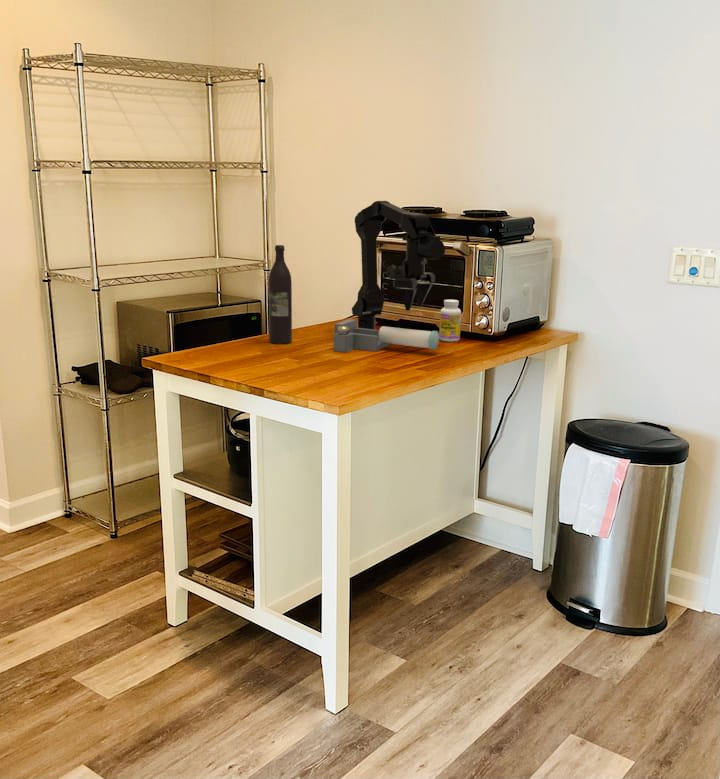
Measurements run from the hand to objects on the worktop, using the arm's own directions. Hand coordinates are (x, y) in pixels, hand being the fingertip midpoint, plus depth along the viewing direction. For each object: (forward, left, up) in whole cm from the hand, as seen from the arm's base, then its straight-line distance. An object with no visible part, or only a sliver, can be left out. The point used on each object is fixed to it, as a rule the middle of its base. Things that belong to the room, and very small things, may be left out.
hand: (413, 308), depth 247 cm
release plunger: (+16, -16, -11) cm, 25 cm away
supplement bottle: (-16, +6, -12) cm, 21 cm away
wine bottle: (+15, -38, -12) cm, 43 cm away
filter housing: (+10, -14, -12) cm, 21 cm away
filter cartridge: (+7, +2, -11) cm, 13 cm away
